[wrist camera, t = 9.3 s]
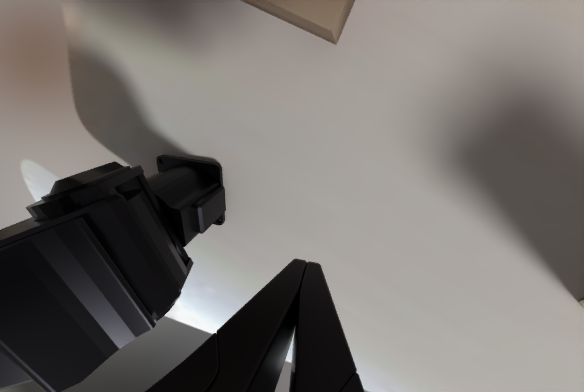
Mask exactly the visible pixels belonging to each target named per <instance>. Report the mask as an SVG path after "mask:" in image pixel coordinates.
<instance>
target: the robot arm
mask: <svg viewBox="0 0 584 392" xmlns="http://www.w3.org/2000/svg"><path fill="white" fill-rule="evenodd" d="M162 160H163V161H164V162H163V161H162ZM157 166H158V171H159V173H157V174H155V175H153V176H151V177H149V178H145V176H144V174H143V173H144V171H143V169H142V167H141V166H140V165H139V166H136V167H132V168H130V166H127V167H124V166H122V165H120V164H119V163H117V162H112V163H108V164H105V165H102V166H99V167H96V168H93V169H90V170H87V171H84V172H81V173H78V174H75V175H72V176H70V177H67V178H64V179H61V180H58V181H55V183H54V185H53V188H52V190H51V192H50V194H47V195H45V196H43V197H41V198H42V200H40V201H38V202H36V203H34V204H32V205H30V206H28V207H26V209H27V210H28V211H29V213H30V214H31V215H32V216H33V217H31V218H29V219H26V220H24V221H21V222H19V223H16V224H14V225H11V226H9V227H6V228H4V229H1V230H0V390H1V389H5V388H8V387H12V386H15V385H19V384H23V383H26V382H30V381H34V382H35V383H36V384H37V385H39V386H40V387H41V388H42V389H43V390H44V391H45V392H61V391H63V390H65V389H67V388H69V387H71V386H74V385H76V384H78V383H80V382H81V381H83V380H84V379H85V378H86V377H87V376H88V375H90V374H91V373H92V372H93V371H94V370H95V369H96V368H98V367H99V366H100V365H101V364H102V363H103V362H104V361H106V360H107V359H108V358H109V357H110V356H111V355H113V354H114V353H115V352H116V351H117V350H119V349H120V348H121V347H123V346H124V345H126V344H127V343H129V342H130V341H131V340H133V339H134V338H136V337H137V336H139V335H141V334H143V333H145V332H147V331H149V330H151V329H152V328H154V327H155V325H156V321H158V320H159V319H160V318H162V317H163V316H164V315H165V314H166V313H167V312H168V311H169V310H170V309H171V308H172V306H173V305H174V304H175V302H176V300H177V299H178V298H179V297H180V294H181V290H182V287H183V285H184V283H185V281H186V279H187V276H188V274H189V272H190V270H191V267H192V265H193V261H192V259H191V258H190V257H188V255H187V253H186V251H185V249H184V248H183V247H185V246H186V245H187V244H188V243H189V242H190V241H191V240H192V239H193V238H194V237H195V236H196V235H197V234H198V233H201V234H202V233H204V232H205V231H206V230H207V229H208V228H209V227H210V226H211V225H212V224H215V225H222V224H223V223H224V222H225V211H226V205H225V188H224V187H223V178H222V167H221V166H220V165H219V164H218V163H212V162H206V161H199V160H193V159H186V158H180V157H173V156H166V155H161V156H158V157H157ZM214 167H216V168H217V171H216V170H215V168H214ZM218 219H220V220H221V221H219V220H218ZM294 330H295V333H294ZM293 334H294V341H293V353H292V364H291V376H290V387H289V392H364V389H363V386H362V383H361V380H360V378H359V375H358V373H356V371H357V369H356V366H355V363H354V361H353V358H352V355H351V352H350V349H349V346H348V343H347V340H346V337H345V334H344V332H343V329H342V326H341V323H340V320H339V317H338V314H337V311H336V308H335V305H334V303H333V300H332V297H331V294H330V291H329V288H328V285H327V282H326V279H325V276H324V274H323V271H322V268H321V265H320V264H319V263H315V262H310V261H309V262H306V261H305V260H300V259H294V260H293V261H291V262H290V263H289V264H288V265H287V266H286V267H285V268H284V269H283V270H282V271H281V272H280V273H279V274H277V275H276V276H275V277H274V278H273V279H272V280H271V281H270V282H269V283H268V284H267V285H266V286H265V287H264V288H262V289H261V290H260V291H259V292H258V293H257V294H256V295H255V296H254V297H253V298H252V299H251V300H250V301H248V302H247V303H246V304H245V305H244V306H243V307H242V308H241V309H240V310H239V311H238V312H237V313H236V314H235V315H233V316H232V317H231V318H230V319H229V320H228V321H227V322H226V323H225V324H224V325H223V326H222V327H221V328H219V329H218V330H217V334H216V333H214V334H213V335H212V336H211V337H210V338H209V339H207V340H206V341H205V342H204V343H203V344H202V345H201V346H200V347H199V348H198V349H197V350H195V351H194V352H193V353H192V354H191V355H190V356H189V357H187V358H186V359H185V360H184V361H183V362H182V363H181V364H179V365H178V366H177V367H175V368H174V369H173V370H172V371H170V372H169V373H168V374H167V375H166V376H164V377H163V378H162V379H161V380H159V381H158V382H157V383H155V384H154V385H153V386H152V387H150V388H149V389H148V390H146V391H145V392H275V389H276V386H277V383H278V380H279V377H280V374H281V371H282V368H283V365H284V362H285V359H286V356H287V353H288V350H289V347H290V344H291V341H292V337H293Z"/></svg>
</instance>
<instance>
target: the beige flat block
mask: <svg viewBox="0 0 584 392" xmlns="http://www.w3.org/2000/svg"><path fill="white" fill-rule="evenodd" d="M241 1H243V2H245V3H247V4H250V5H252V6H254V7H256V8H258V9H260V10H262V11H265V12H267V13H269V14H271V15H273V16H275V17H277V18H280V19H282V20H284V21H286V22H288V23H290V24H293V25H295V26H297V27H299V28H301V29H303V30H305V31H308V32H310V33H312V34H314V35H316V36H318V37H321V38H323V39H325V40H327V41H329V42H331V43H333V44H337V42H338V40H339V37H340V35H341V33H342V30H343V28H344V25H345V23H346V21H347V18H348V16H349V13H350V11H351V9H352V6H353V4H354V2H355V0H241Z"/></svg>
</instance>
